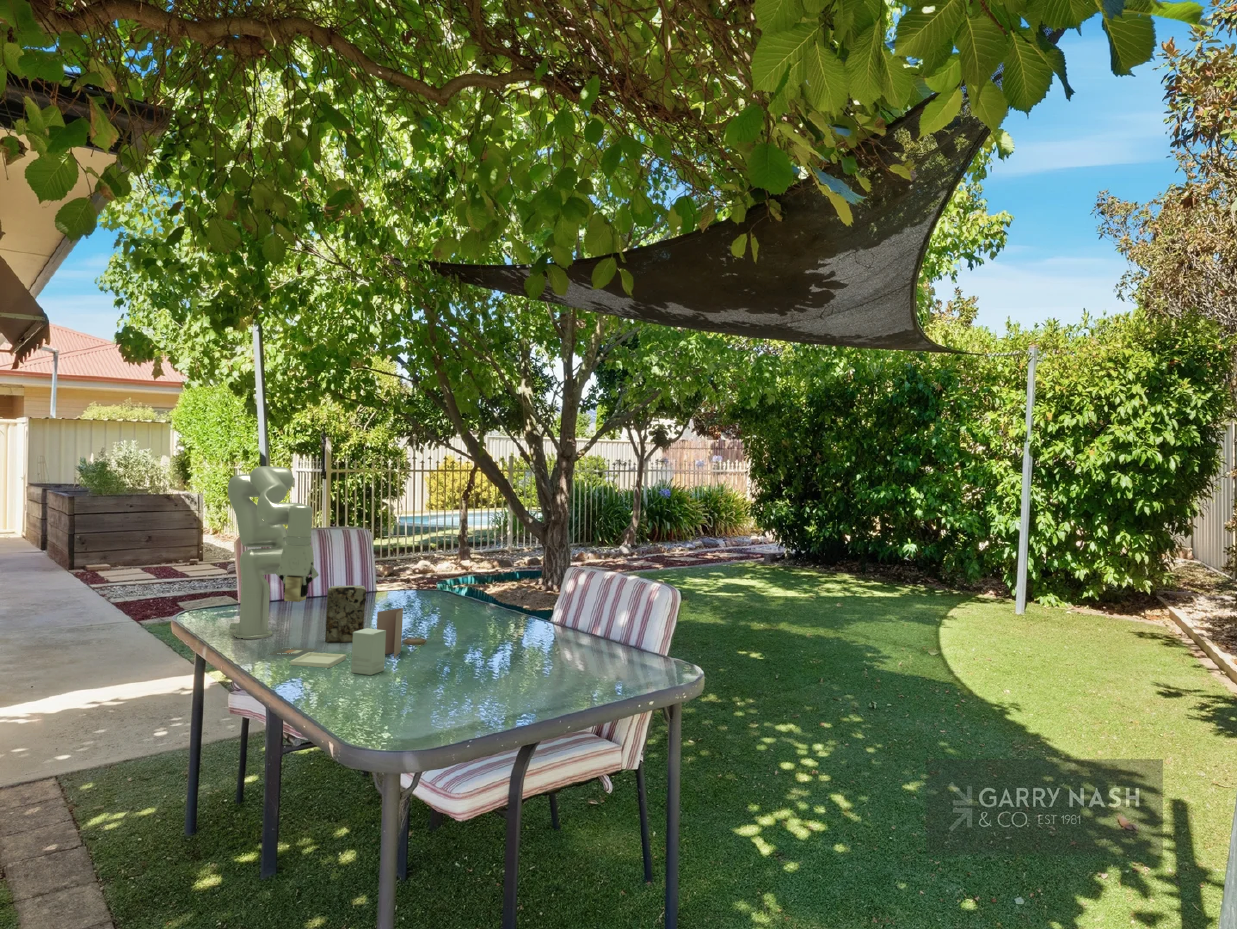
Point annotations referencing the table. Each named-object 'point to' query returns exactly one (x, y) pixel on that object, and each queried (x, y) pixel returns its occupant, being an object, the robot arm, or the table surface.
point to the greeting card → (391, 629)
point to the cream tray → (318, 660)
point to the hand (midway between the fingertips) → (295, 595)
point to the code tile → (292, 651)
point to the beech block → (293, 589)
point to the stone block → (344, 612)
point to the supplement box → (368, 651)
